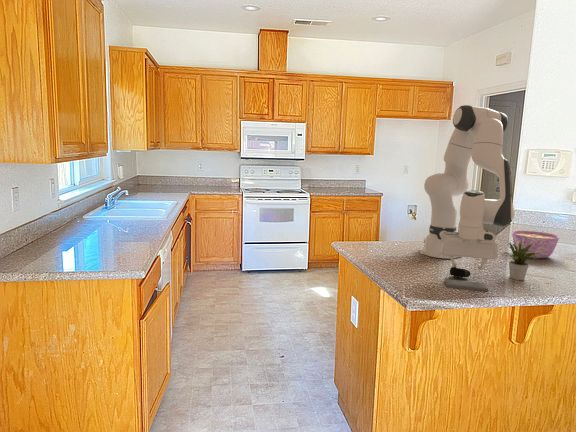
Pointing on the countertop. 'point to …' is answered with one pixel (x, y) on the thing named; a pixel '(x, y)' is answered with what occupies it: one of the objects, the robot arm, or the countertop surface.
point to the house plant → (519, 261)
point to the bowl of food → (536, 242)
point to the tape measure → (459, 272)
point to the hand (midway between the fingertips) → (466, 268)
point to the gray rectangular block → (466, 285)
